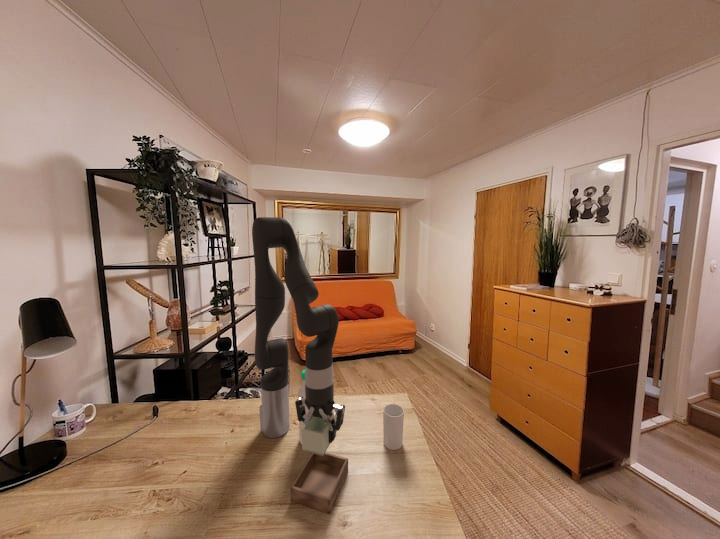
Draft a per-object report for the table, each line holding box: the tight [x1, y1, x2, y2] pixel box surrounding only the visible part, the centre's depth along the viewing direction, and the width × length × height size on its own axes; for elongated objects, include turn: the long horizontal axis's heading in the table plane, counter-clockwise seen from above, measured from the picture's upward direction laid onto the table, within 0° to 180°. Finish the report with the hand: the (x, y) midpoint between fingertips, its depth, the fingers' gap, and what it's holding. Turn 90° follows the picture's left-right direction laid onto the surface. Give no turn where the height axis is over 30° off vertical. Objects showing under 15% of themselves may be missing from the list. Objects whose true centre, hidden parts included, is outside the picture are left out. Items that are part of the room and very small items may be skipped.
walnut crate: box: [290, 452, 349, 515], centre depth 75 cm, size 11×13×4 cm
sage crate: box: [301, 411, 337, 456], centre depth 73 cm, size 6×9×6 cm, turn 162°
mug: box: [382, 402, 405, 451], centre depth 91 cm, size 10×7×12 cm, turn 171°
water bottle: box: [297, 369, 309, 445], centre depth 90 cm, size 7×7×25 cm
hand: (320, 437), depth 73 cm, fingers closed on sage crate, 6 cm apart
